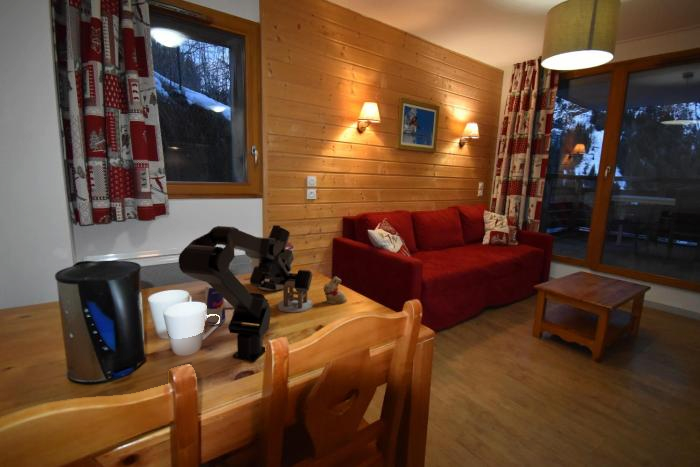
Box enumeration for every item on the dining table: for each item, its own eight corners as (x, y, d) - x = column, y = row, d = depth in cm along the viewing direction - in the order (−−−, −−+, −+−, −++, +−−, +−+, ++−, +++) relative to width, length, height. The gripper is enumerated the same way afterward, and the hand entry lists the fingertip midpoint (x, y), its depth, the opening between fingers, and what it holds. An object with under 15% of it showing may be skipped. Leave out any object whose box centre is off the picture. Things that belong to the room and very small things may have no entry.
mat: (304, 314, 110) (303, 313, 110) (271, 309, 113) (271, 308, 113) (318, 301, 121) (318, 300, 121) (288, 297, 125) (288, 295, 125)
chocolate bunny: (327, 297, 125) (328, 272, 123) (348, 300, 123) (348, 274, 121) (322, 303, 120) (322, 276, 118) (343, 306, 118) (344, 278, 116)
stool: (301, 308, 114) (301, 281, 112) (283, 306, 115) (283, 279, 113) (307, 301, 120) (307, 275, 118) (290, 299, 121) (290, 274, 119)
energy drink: (219, 327, 100) (217, 288, 98) (203, 324, 101) (200, 287, 99) (229, 319, 106) (227, 282, 103) (213, 317, 107) (211, 281, 104)
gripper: (310, 245, 100) (321, 270, 113) (253, 241, 104) (269, 266, 116) (301, 278, 94) (313, 301, 106) (240, 272, 97) (259, 295, 110)
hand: (288, 290), depth 110 cm, fingers open, 9 cm apart
